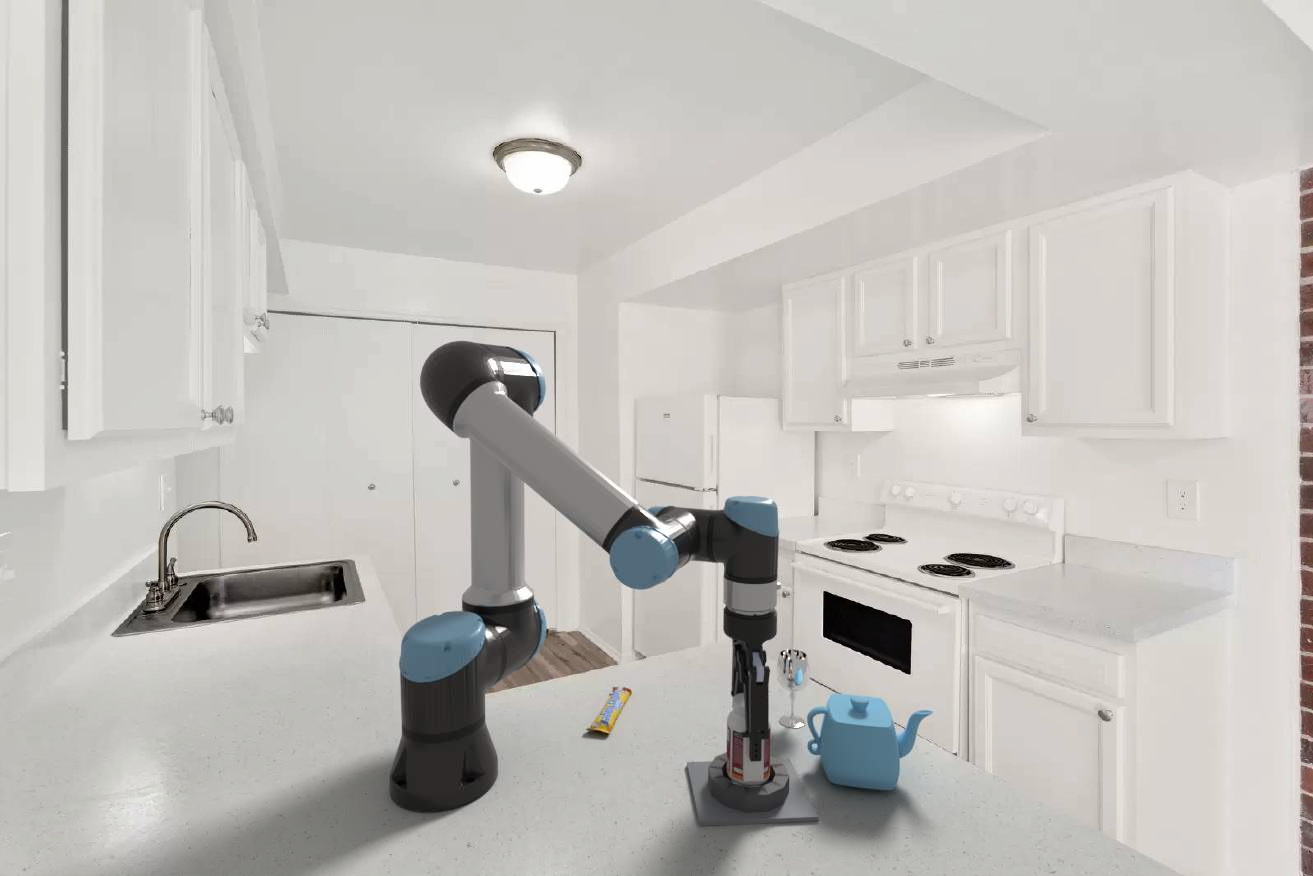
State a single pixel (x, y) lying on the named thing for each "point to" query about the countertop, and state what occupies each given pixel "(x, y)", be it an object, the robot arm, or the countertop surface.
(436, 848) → the countertop surface
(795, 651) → the wineglass
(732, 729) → the pill bottle
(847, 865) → the countertop surface
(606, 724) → the candy bar
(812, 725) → the teapot
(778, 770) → the grey ring base plate
